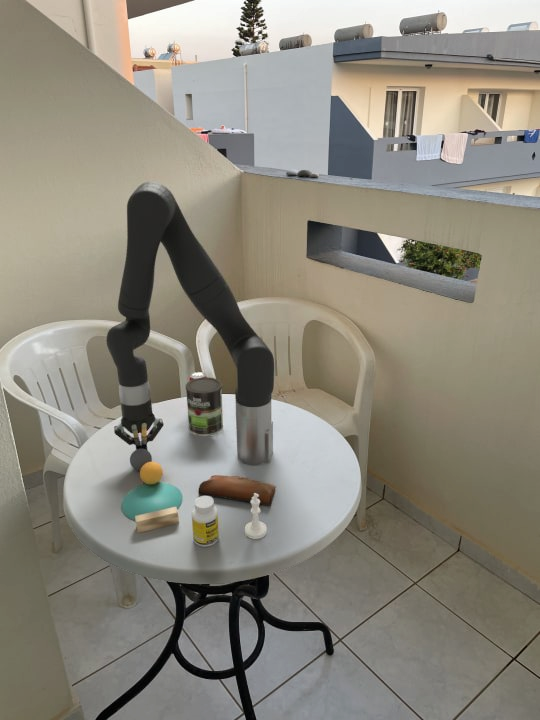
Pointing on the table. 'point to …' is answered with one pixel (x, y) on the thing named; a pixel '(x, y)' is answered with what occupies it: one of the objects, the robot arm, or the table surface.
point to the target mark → (151, 499)
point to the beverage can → (197, 375)
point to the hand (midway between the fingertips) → (142, 454)
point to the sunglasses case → (237, 488)
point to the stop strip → (157, 519)
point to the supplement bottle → (205, 522)
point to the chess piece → (255, 521)
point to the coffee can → (204, 406)
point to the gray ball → (140, 458)
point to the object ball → (151, 473)
